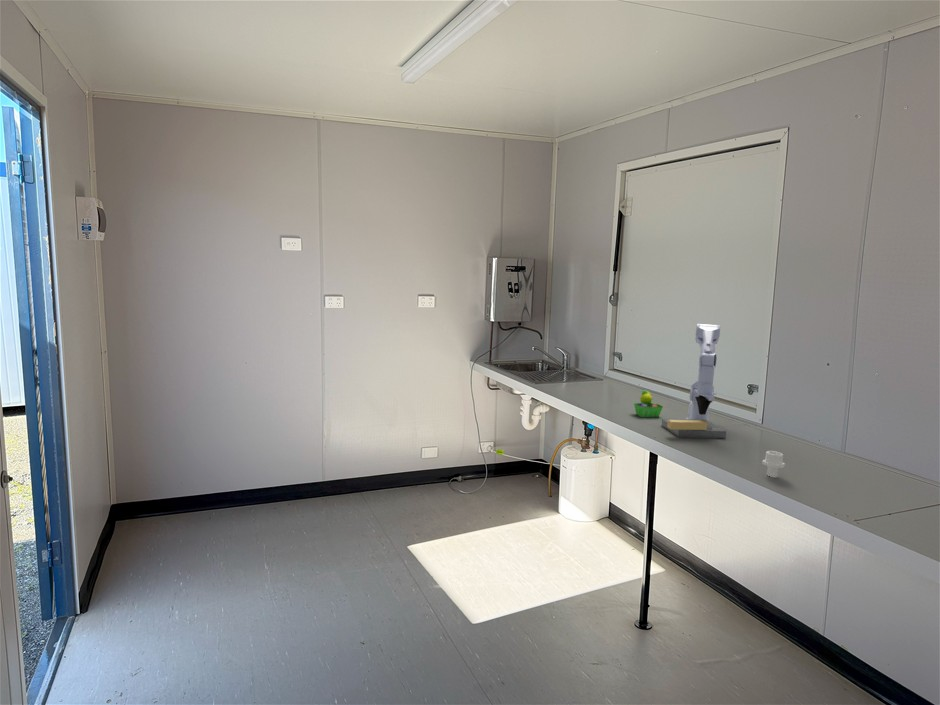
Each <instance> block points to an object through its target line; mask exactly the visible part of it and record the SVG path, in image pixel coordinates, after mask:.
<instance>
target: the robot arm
mask: <svg viewBox="0 0 940 705" xmlns="http://www.w3.org/2000/svg"><path fill="white" fill-rule="evenodd" d="M720 335H721V326H720V325H719V324H704V323H697V324H696V328H695V342H696V343H697V344H699V347H700V351H699V352H700V353H699V357H698V366H699V367H698V376H697V381H694V382H692V384H691V385H690V389H689V390H690V391H689V400H690V403H689V404H688V409H687V410H688V412H687V417H685V419H691V420H708V421H709V414H710V413H709V412H710V405H711V404H712V403H713V402H715V390H714V389H715V387H714V376H715V367H716V366H717V359H718V358H717V352H716V345H717V344H718V342H719V339H720Z"/></svg>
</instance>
